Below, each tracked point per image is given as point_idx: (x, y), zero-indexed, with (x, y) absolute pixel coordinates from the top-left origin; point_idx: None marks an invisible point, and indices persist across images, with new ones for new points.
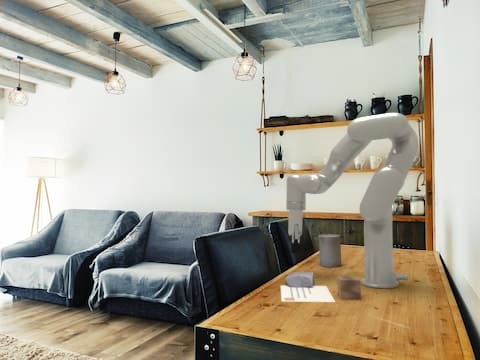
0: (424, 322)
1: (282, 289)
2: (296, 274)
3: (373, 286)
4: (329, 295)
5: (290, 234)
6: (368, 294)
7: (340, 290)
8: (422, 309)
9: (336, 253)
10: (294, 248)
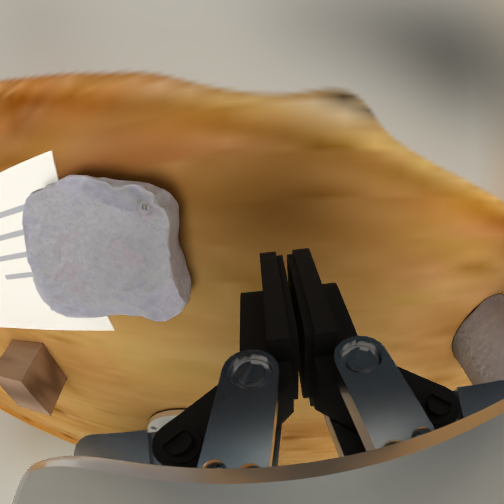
0: (3, 399)
1: (5, 177)
2: (83, 240)
3: (149, 421)
4: (20, 323)
5: (32, 470)
6: (84, 396)
7: (3, 355)
8: (49, 421)
9: (474, 384)
10: (243, 318)
